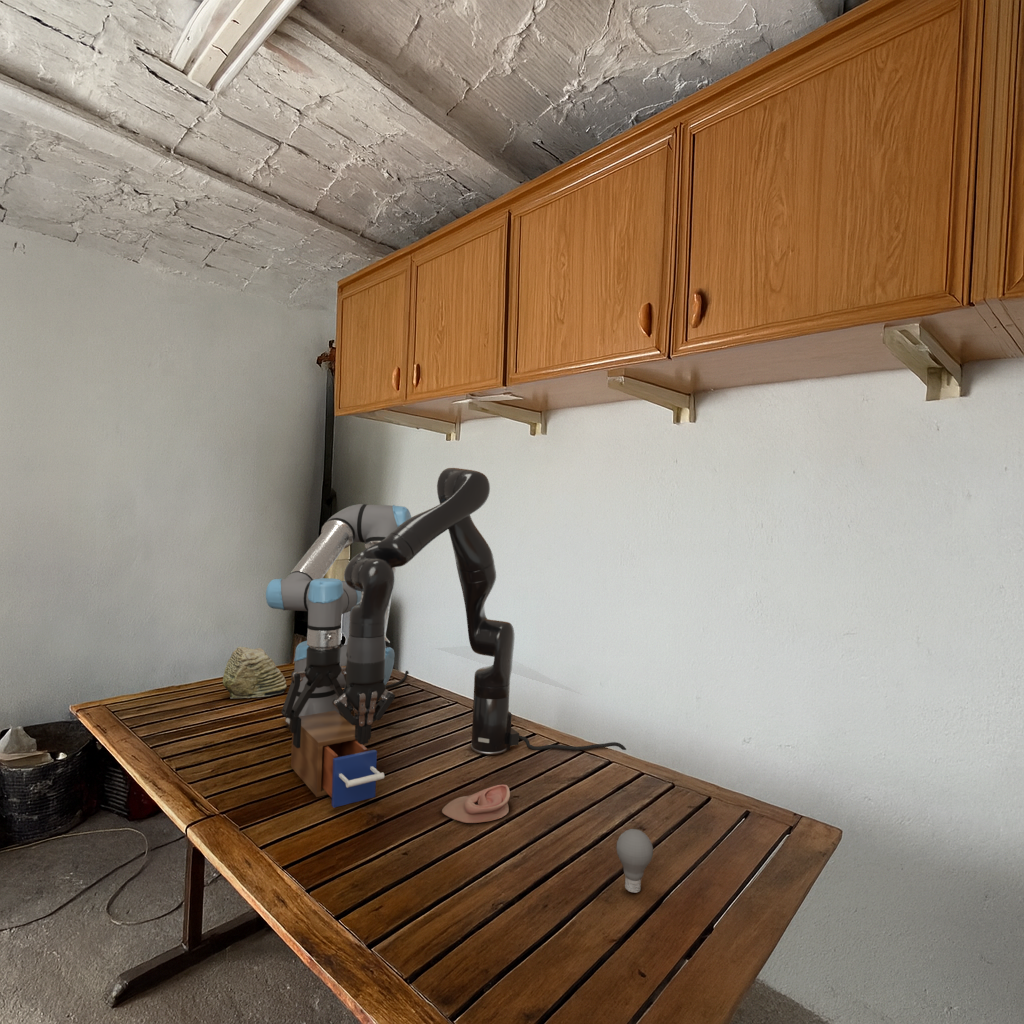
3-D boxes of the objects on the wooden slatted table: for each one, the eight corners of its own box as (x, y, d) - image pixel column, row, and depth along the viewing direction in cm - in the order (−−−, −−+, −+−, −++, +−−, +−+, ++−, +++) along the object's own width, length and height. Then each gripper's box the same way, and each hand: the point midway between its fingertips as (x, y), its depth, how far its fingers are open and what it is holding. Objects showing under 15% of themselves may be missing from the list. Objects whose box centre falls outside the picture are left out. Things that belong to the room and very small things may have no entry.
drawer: (386, 807, 128) (388, 760, 128) (343, 819, 123) (345, 770, 123) (345, 768, 146) (347, 726, 146) (306, 777, 140) (308, 734, 140)
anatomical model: (437, 799, 126) (454, 775, 137) (436, 818, 126) (453, 793, 138) (502, 808, 124) (514, 783, 135) (501, 828, 124) (513, 801, 135)
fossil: (218, 695, 195) (220, 647, 195) (278, 685, 208) (279, 640, 207) (228, 703, 189) (230, 653, 188) (289, 692, 201) (290, 645, 201)
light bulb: (610, 879, 108) (613, 822, 108) (644, 879, 109) (647, 822, 109) (619, 902, 102) (622, 840, 102) (655, 901, 103) (658, 840, 103)
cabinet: (362, 786, 139) (364, 733, 139) (316, 797, 133) (318, 742, 133) (333, 757, 154) (335, 710, 153) (290, 766, 148) (292, 717, 147)
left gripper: (278, 655, 137) (274, 757, 137) (376, 644, 150) (373, 737, 150) (268, 647, 143) (264, 745, 143) (363, 638, 156) (360, 727, 156)
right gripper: (341, 665, 120) (337, 755, 120) (404, 657, 128) (401, 742, 128) (327, 656, 126) (323, 742, 126) (388, 649, 134) (385, 730, 134)
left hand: (320, 741), depth 147 cm, fingers closed on cabinet, 10 cm apart
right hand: (362, 742), depth 127 cm, fingers closed
